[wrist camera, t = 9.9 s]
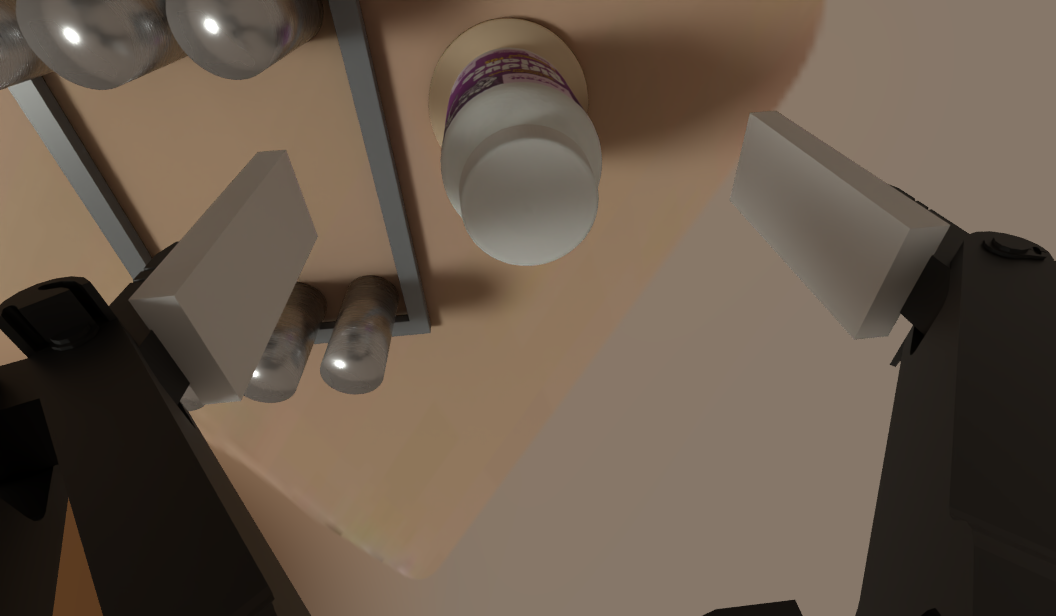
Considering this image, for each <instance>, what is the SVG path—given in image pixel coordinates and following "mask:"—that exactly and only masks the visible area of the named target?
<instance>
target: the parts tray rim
mask: <svg viewBox="0 0 1056 616" xmlns="http://www.w3.org/2000/svg"><path fill="white" fill-rule="evenodd" d="M328 2H329V6H330V10H331V14H332V18H333V21H334V25H335V29H336V33H337V37H338V41H339V45H340V49H341V53H342V57H343V61H344V65H345V69H346V73H347V77H348V80H349V84H350V88H351V92H352V96H353V100H354V104H355V108H356V112H357V116H358V120H359V124H360V128H361V132H362V136H363V139H364V143H365V147H366V151H367V155H368V159H369V163H370V167H371V171H372V175H373V179H374V183H375V187H376V191H377V195H378V198H379V202H380V206H381V210H382V214H383V218H384V222H385V226H386V230H387V234H388V238H389V242H390V246H391V250H392V254H393V257H394V261H395V265H396V269H397V273H398V277H399V281H400V285H401V289H402V293H403V297H404V301H405V305H406V309H407V313H408V315H403V316H396V317H395V322H394V327H393V332H392V337H393V336H403V335H414V334H424V333H430V332H431V324H430V319H429V315H428V310H427V306H426V301H425V297H424V292H423V288H422V283H421V279H420V274H419V270H418V265H417V261H416V256H415V252H414V247H413V243H412V238H411V234H410V229H409V224H408V220H407V215H406V211H405V206H404V202H403V197H402V193H401V188H400V184H399V179H398V175H397V170H396V166H395V161H394V157H393V152H392V148H391V143H390V139H389V134H388V130H387V125H386V121H385V116H384V112H383V107H382V103H381V98H380V94H379V89H378V85H377V80H376V76H375V71H374V67H373V62H372V58H371V53H370V49H369V44H368V40H367V35H366V31H365V26H364V22H363V17H362V12H361V8H360V3H359V0H328ZM8 89H9V90H10V92H11V93H12V95H13V96H14V98H15V99H16V101H17V102H18V104H19V106H20V107H21V109H22V110H23V112H24V113H25V115H26V116H27V118H28V119H29V121H30V122H31V124H32V125H33V127H34V128H35V130H36V131H37V133H38V135H39V136H40V138H41V139H42V141H43V142H44V144H45V145H46V147H47V148H48V150H49V151H50V153H51V154H52V156H53V157H54V159H55V161H56V162H57V164H58V165H59V167H60V168H61V170H62V171H63V173H64V174H65V176H66V177H67V179H68V180H69V182H70V183H71V185H72V186H73V188H74V190H75V191H76V193H77V194H78V196H79V197H80V199H81V200H82V202H83V203H84V205H85V206H86V208H87V209H88V211H89V212H90V214H91V215H92V217H93V219H94V220H95V222H96V223H97V225H98V226H99V228H100V229H101V231H102V232H103V234H104V235H105V237H106V238H107V240H108V241H109V243H110V244H111V246H112V248H113V249H114V251H115V252H116V254H117V255H118V257H119V258H120V260H121V261H122V263H123V264H124V266H125V267H126V269H127V270H128V272H129V274H130V275H131V277H132V278H133V279H134V278H135V277H136V276H137V275H138V274H139V273H140V272H141V271H144V269H143V268H144V267H145V266H146V265H147V264H148V263H149V262H150V261H151V260H152V258H151V256H150V254H149V253H148V251H147V249H146V248H145V246H144V244H143V243H142V241H141V239H140V238H139V236H138V234H137V233H136V231H135V230H134V228H133V226H132V225H131V223H130V221H129V220H128V218H127V216H126V215H125V213H124V211H123V210H122V208H121V207H120V205H119V203H118V202H117V200H116V198H115V197H114V195H113V193H112V192H111V190H110V188H109V187H108V185H107V183H106V182H105V180H104V179H103V177H102V175H101V174H100V172H99V170H98V169H97V167H96V165H95V164H94V162H93V160H92V159H91V157H90V155H89V154H88V152H87V151H86V149H85V147H84V146H83V144H82V142H81V141H80V139H79V137H78V136H77V134H76V132H75V131H74V129H73V127H72V126H71V124H70V123H69V121H68V119H67V118H66V116H65V114H64V113H63V111H62V109H61V108H60V106H59V104H58V103H57V101H56V100H55V98H54V96H53V95H52V93H51V91H50V90H49V88H48V86H47V85H46V83H45V81H44V80H43V78H42V76H40V77H37V78H34V79H31V80H28V81H25V82H22V83H19V84H16V85H13V86H10V87H8ZM335 323H336V322H328V323H322V324H321V326H320V329H319V331H318V334H317V337H316V339H315V342H314V344H320V343H329V340H330V338H331V335H332V332H333V329H334V326H335Z"/></svg>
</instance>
